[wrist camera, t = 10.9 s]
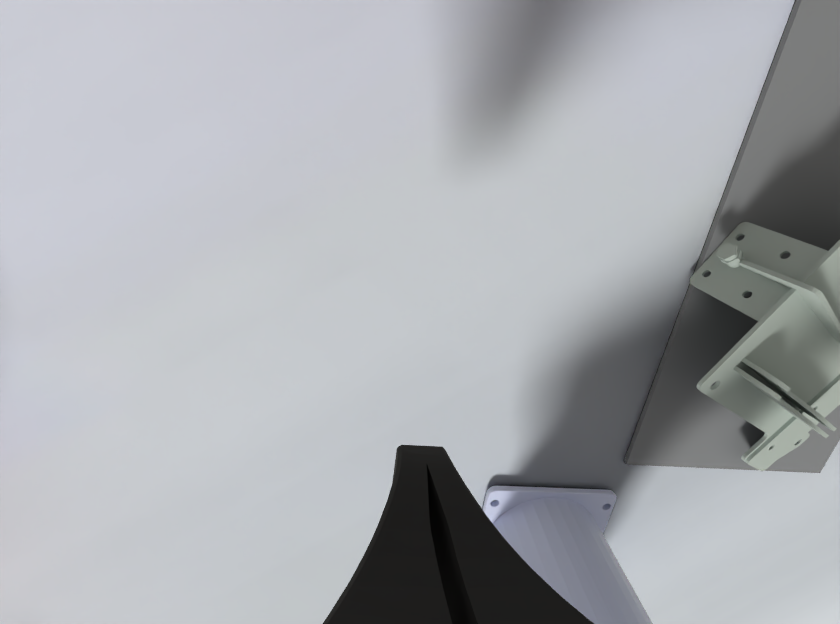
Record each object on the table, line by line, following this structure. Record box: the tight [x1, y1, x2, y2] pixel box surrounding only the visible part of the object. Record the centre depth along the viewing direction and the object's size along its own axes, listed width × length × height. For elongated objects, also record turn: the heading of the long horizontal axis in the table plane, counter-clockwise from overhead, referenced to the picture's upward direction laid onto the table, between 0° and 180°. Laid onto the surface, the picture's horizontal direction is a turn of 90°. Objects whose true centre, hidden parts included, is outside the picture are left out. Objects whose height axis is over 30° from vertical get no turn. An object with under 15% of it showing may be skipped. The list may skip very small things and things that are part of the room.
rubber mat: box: [624, 0, 840, 473], centre depth 22 cm, size 24×13×1 cm, turn 173°
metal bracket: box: [690, 222, 840, 471], centre depth 22 cm, size 14×6×15 cm
